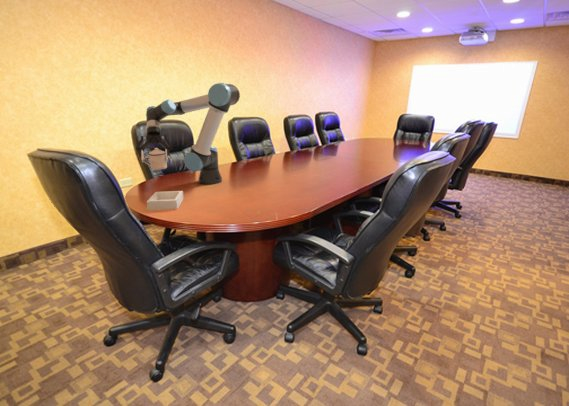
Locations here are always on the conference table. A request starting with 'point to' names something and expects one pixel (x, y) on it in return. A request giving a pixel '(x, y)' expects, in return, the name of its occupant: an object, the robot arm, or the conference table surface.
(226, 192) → the conference table surface
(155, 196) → the white open tray
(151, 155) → the teacup with lid
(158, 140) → the robot arm
